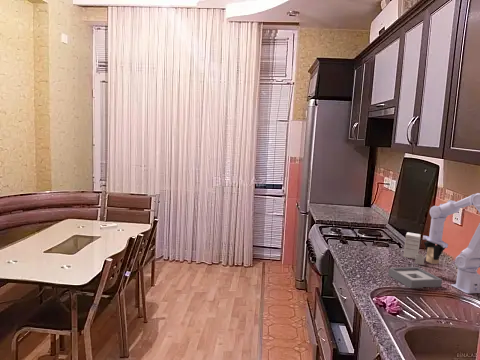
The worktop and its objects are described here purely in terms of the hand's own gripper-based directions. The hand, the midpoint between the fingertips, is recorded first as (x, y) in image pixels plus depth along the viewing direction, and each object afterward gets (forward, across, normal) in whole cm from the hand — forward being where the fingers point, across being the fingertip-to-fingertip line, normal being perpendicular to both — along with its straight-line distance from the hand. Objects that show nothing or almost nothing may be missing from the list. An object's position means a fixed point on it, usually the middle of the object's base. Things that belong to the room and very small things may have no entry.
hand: (432, 258), depth 203 cm
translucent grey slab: (+8, -13, +6) cm, 17 cm away
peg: (+2, 0, 0) cm, 2 cm away
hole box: (+8, +8, -16) cm, 20 cm away
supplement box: (+8, -26, +9) cm, 29 cm away
